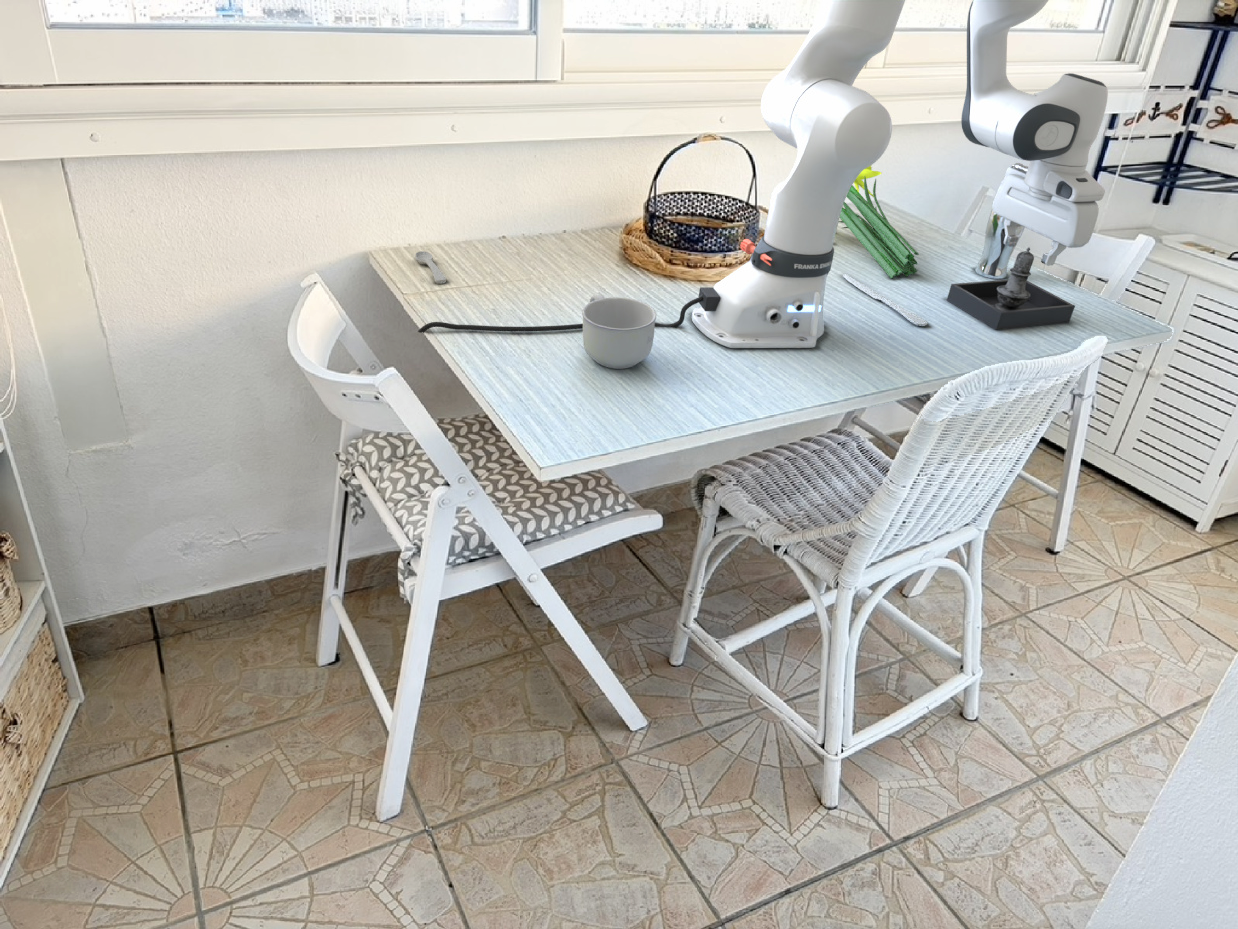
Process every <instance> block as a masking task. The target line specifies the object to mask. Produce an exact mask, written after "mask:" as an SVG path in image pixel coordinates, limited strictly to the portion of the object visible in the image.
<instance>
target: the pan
mask: <svg viewBox="0 0 1238 929" xmlns="http://www.w3.org/2000/svg"><path fill="white" fill-rule="evenodd" d="M1008 280H1009V278H1008V279H994V280H983V281H972V282H971V281H970V282H957V283H951V284H950V288H949V292H948V294H947V297H946V301H947V302H949V303H950V304H952V305H953V306H955V307H957V308H958V309H960V310H962V311H964V312H965V313H967V314H968V315H970V316H972V317H973V318H975V319H977V320H978V321H980V322H982V323H984V324H985V325H987V326H988V327H990V328H991V329H994V330H995V331H1000V330H1008V329H1019V328H1029V327H1038V326H1046V325H1047V326H1048V325H1056V324H1068V323H1070V321H1071V318H1072V316H1073V313H1074V310H1075V307H1076V305H1075V304H1072V303H1071V302H1069V301H1067V300H1065V299H1064V298H1062V297H1059V296H1058V295H1055V294H1054V293H1052V292H1050V291H1048V290H1046V289H1044V288H1042V287H1040V286H1038V285H1036V284H1034V283H1033V282H1031V281H1029V280H1027V282H1026V285H1025V290H1026V291H1027V292H1029V293H1030V297H1029V298H1028V299H1027V301H1026V302H1025V303H1024V304H1023V305H1021V306H1019V308H1020V310H1010V311H1001V310H999V309H997V308H995V307H994V306H993V305H994V304H997V303H1000V301H999V300H998V295H997V293H998V290H997V288H998V287H999V286H1003V285H1006V284H1007V282H1008Z"/></svg>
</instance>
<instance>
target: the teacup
mask: <svg viewBox="0 0 1238 929" xmlns="http://www.w3.org/2000/svg"><path fill="white" fill-rule="evenodd" d="M581 315H582V324H583V328H582V342H583V347H584V350H585V352H586V354H587V356H589V357H590V359H592V360H594V361H595V362H596V363H597V364H598V365H601V366H603V367H605V368H609V369H614V370H615V369H616V370H621V369H622V370H623V369H628V368H632V367H634V366H636V365H638V364H639V363H641V362H643V361H644V360H646V358H647V357H648V356H649V355H650V353H651V350H652V348H653V344H654V337H655V327H656V326H655V323H656V320H657V313H656V310H655V309H654V308H653V307H652V306H651V305H650V304H648V303H646V302H644V301H642V300H638V299H634V298H629V297H618V296H615V297H605V296H604V295H603V294H601V293H596V294H593V295H592V296H591V297H590V299H589V303H587V304H586V305H584V307H583V308H582V312H581Z"/></svg>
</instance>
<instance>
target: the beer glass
mask: <svg viewBox="0 0 1238 929" xmlns="http://www.w3.org/2000/svg"><path fill="white" fill-rule="evenodd" d="M1004 222H1005V218H1004V217H1002V216H1000V215H998V214H996V213H994V212H993V207H992V209H991V210H990V213H989V217H988V220H987V223H986V229H985V235H984V244H983V250H982V254H981V256H980V259H979V261H978V263H977V265H976V267H975V268H974V271H975V273H976V274H977V275H980V276H982V277H985V278H987V279H992V280H1004V279H1005V278H1006V277H1007V275H1008V266H1009V262H1010V258H1011V257H1012V255H1013V253H1014V250H1015V248H1016V247H1017V245H1018V243H1019V242H1020V239H1021V237H1022V235H1023V233H1024V231H1025V228H1026V227H1024V226H1021V225H1019V224H1018V225H1016V236H1018V237H1019V238H1018V241H1017V244H1016V246H1011V247H1009V246H1007V245H1005V244H1004V243H1003V242H1004V239H1005V236H1006V235H1005V229H1004Z"/></svg>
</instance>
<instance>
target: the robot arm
mask: <svg viewBox="0 0 1238 929" xmlns="http://www.w3.org/2000/svg"><path fill="white" fill-rule="evenodd" d="M905 2H906V0H821V3H820V5H819V9H818V11H817V14H816V16H815V19H814V21H813V24H812V26H811V28H810V30H809V32H808V34H807V36H806V38H805V40H804V41H803V43H802V44H801V46H800V48H799V49H798V51H797V53H796V54H795V56H794V58H793V59H792V60H791V62H790V63H789V65H787V67H786V68H785V69H783V70H782V71H781V72H780V73H778V74H777V75H776V76H774V77H773V78H772V79H771V80H770V81H769V83H768V84H767V85H766V87H765V89H764V92H763V94H762V97H761V103H760V113H761V116H762V119H763V121H764V123H765V125H766V126H767V128H769V130H770V131H771V132H772V133H773V134H774V135H775V136H776V137H777V139H779V140H780V141H782V142H784V143H785V144H787V145H789V146H791V147H793V148H795V149H797V150H796V151H797V153H796V159H795V162H794V165H793V167H792V169H791V171H790V173H789V175H788V176H787V178H786V179H784V180H782V181H781V182H779V183H778V184H777V185H776V186H775V187H774V189H773V190H772V192H771V196H770V201H769V207H768V212H767V218H766V224H765V229H764V233H763V234H764V235H763V236H762V237H761V238H760V239H759V241H758V243H757V245H756V243H754V242H753V241H752V240H750V239H749V238H745V239H743V240H742V241H741V242H740V244H739V246H740V249H741V251H743V252H745V254H747V255H750V258H749V260H748V261H747V262H745V263H744V264H742V265H741V266H740V267H738V268H737V269H735V270H734V271H732V272H731V273H729V274H728V275H727V276H725V277H724V278H722V279H720V280H719V281H718V282H716V283H715V284H714V285H713V287H705V286H703V287H701V286H700V287H699V291H698V297H696V298H694V299H691V300H690V301H688V302H686V303H685V304H684V306H682V308H681V310H680V314H679V319H678V320H676V321H675V322H673V323H669V324H667V323H666V324H665V323H659V322H655V327H657V328H677V327H679V326H681V325H682V324H683V323H684V321H685V316H686V312H687V310H689V308H691V307H692V306H694V305H696V304H699V305H700V307H696V308H694V309H692V313H691V321H692V323H693V325H694V326H695V327H696V328H697V329H698V330H699V331H700V332H701V333H702V334H703V335H705V336H706V337H707V338H708V339H710V340H712V341H713V342H715V343H717V344H719V345H721V346H724V347H727V348H729V349H811V348H815V347H816V346H817V340H818V339H819V338H820V337H822V336H823V334H824V333H825V325H824V323H825V322H824V302H825V293H826V292H825V291H826V284H827V277H828V275H829V273H830V272H831V268H832V264H833V259H834V255H835V248H834V243H835V242H834V241H835V237H836V234H837V230H838V225H839V223H840V222H839V221H840V213H841V210H842V207H843V208H844V205H843V203H844V202H846V198H847V197H846V196H847V194H848V192H849V190H850V188H851V186H852V185H853V184H854V181H855V180H856V178H857V177H858V175H859V174H860V173H861V172H862V171H863V170H864V169H866V168H867V167H869V166H871V167H872V165H874V164H875V163H876V162H878V160H880V158H881V157H882V156H883V155H884V153H885V151H886V150H887V148H888V146H889V144H890V141H891V138H892V133H893V123H892V122H893V121H892V118H891V115H890V113H889V110H888V109H887V108H886V107H885V106H884V105H883V104H882V103H880V101H879V100H878V99H877V98H875V97H874V96H873V95H872V94H870V93H869V92H868V91H865V90H863V89H861V88H858V87H856V86H853V85H854V83H855V81H856V79H857V78H858V76H859V74H860V73H861V71H862V70H863V68H864V67H865V65H866V64H867V63H869V61H870V60H872V58H874V57H875V56H877V55H878V54H880V53H881V52H882V53H883V51H884V50H886V48H887V47H888V45H889V44H890V43H891V40H892V38H893V36H894V34H895V33H894V32H895V31H896V28H897V25H898V21H899V19H900V16H901V14H902V11H903V7H904V6H905ZM1048 2H1049V0H972V2H971V4H970V6H969V9H968V12H967V20H966V21H967V22H966V90H965V91H966V92H965V98H964V102H963V106H962V111H961V120H960V122H961V129H962V133H963V134H964V136H965V138H966V139H967V140H968V141H969V142H970V143H972V144H974V145H978V146H982V147H985V148H989V149H992V150H995V151H998V152H1000V153H1002V154H1004V155H1006V156H1007V155H1008V156H1010V157H1012V158H1015V159H1018V160H1021V161H1027V162H1029V163H1028V166H1027V165H1023V163H1020V162H1016V163H1014V164H1011V165H1010V166H1009V167H1008V168H1007V169H1006V172H1005V174H1004V177H1003V179H1002V181H1001V183H1000V185H999V186H998V189H997V191H996V194H995V197H994V199H993V202H992V206H991V207H992V208H993V212H994V213H996V214H998V215H1000V216H1002V217H1004V218H1005V222H1004V229H1005V235H1006V236H1005V239H1004V242H1003V243H1004V244H1005V245H1007V246H1009V247H1011V246H1016V247H1017V245H1018V243H1017V241H1018V238H1019V237H1018V236H1016V225H1018V224H1019V225H1021V226H1024V227H1025V228H1026V229H1027V230H1030V231H1032V232H1034V233H1036V234H1038V235H1041V236H1043V237H1045V238H1047V239H1050V240H1051V241H1052V242H1051V245H1050V246H1051V247H1052V248H1051V249H1050V251H1049V252H1043V254H1042V258H1041V260H1040V263H1042V265H1045V266H1048V267H1049V266H1054V265H1055V263H1056V260H1057V258H1058V256H1060V254H1062V252H1064V251H1065V250H1066V249H1067V248H1069V249H1074V248H1075V249H1076V248H1083V247H1085V246H1086V245H1087V244H1088V243H1089V242H1090V240H1091V238H1092V235H1093V233H1094V230H1095V227H1096V223H1097V220H1098V216H1099V213H1100V212H1099V211H1100V210H1099V208H1100V207H1099V205H1098V203H1097V202H1100V201H1101V200H1103V198H1104V196H1105V193H1106V190H1105V188H1104V186H1102V185H1101V184H1100V183H1099V182H1098V181H1097V180H1096V179H1095V178H1094V177H1093V176H1092V175H1091V174H1090V172H1089V171H1088V170H1086V169H1087V166H1088V164H1089V163H1088V162H1089V154H1090V149H1091V147H1092V145H1093V144H1094V142H1095V141H1096V140H1097V137H1098V135H1099V132H1100V129H1101V126H1102V122H1103V120H1104V116H1105V114H1106V113H1105V112H1106V108H1107V103H1108V99H1109V98H1108V96H1109V90H1108V89H1109V88H1108V87H1107V86H1106V84H1104V82H1103V81H1100V80H1097V79H1094V78H1090V77H1086V76H1084V75H1080V74H1077V73H1069V72H1068V73H1064V74H1062V75H1061V77H1060V78H1059V80H1058V81H1056V82H1055V83H1054V84H1053V85H1051V86H1049V87H1048V88H1045V89H1043V90H1042V91H1038V92H1035V93H1033V94H1032V93H1028V92H1025V91H1022V90H1019V89H1017V88H1016V87H1015V86H1013V84H1012V82H1010V81H1009V79H1008V76H1007V62H1008V60H1007V57H1008V56H1007V55H1008V35H1009V31H1010V29H1011V28H1013V27H1016V26H1018V25H1020V24H1023V23H1024V22H1026V21H1028V20H1030V19H1031V18H1033V17H1035V16H1036V15H1037V14H1038V13H1039V12H1041V10H1042V9H1044V8H1045V6H1046V5H1047V3H1048ZM1018 242H1019V241H1018ZM1016 244H1017V245H1016ZM432 328H444V329H449V330H459V331H460V330H461V331H485V332H510V333H511V332H515V333H516V332H520V333H521V332H523V333H524V332H526V333H527V332H553V331H568V330H580V329H582V330H583V323H574V324H560V325H559V324H558V325H540V326H539V325H537V326H534V325H533V326H532V325H531V326H503V325H502V326H500V325H499V326H498V325H480V324H479V325H478V324H456V323H448V322H444V321H431V322H428V323H426V324H424V325H423V326H421V327H420V328H419V329H418V330H417V333H425V332H427V331H428V330H429V329H432Z"/></svg>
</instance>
